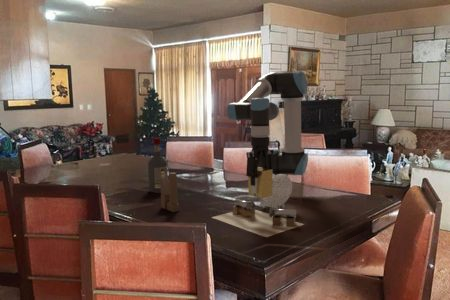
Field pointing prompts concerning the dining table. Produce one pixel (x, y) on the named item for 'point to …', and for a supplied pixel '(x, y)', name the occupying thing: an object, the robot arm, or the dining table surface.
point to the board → (256, 223)
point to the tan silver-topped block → (244, 208)
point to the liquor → (156, 168)
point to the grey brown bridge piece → (281, 213)
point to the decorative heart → (279, 191)
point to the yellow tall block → (262, 183)
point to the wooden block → (169, 193)
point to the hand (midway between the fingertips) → (260, 191)
